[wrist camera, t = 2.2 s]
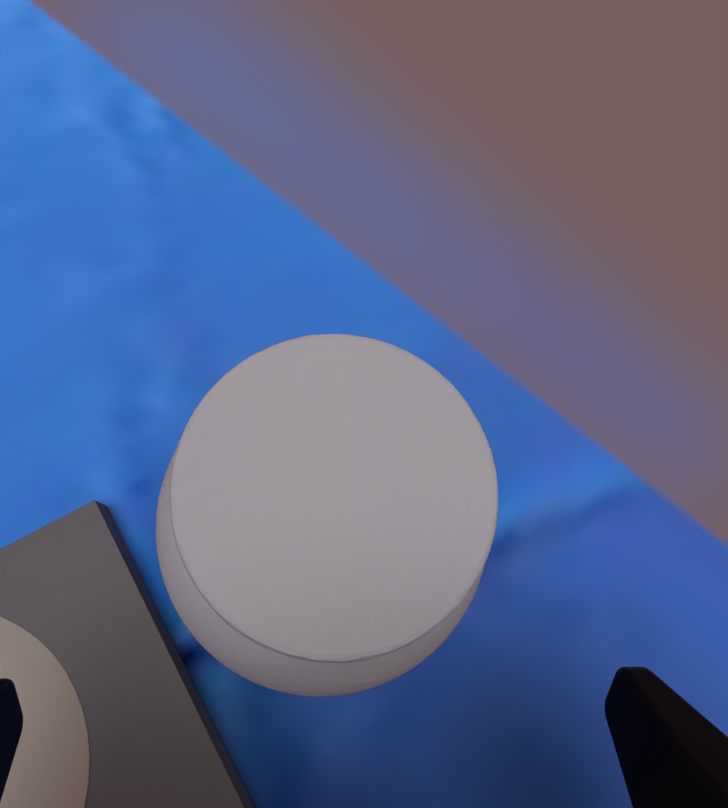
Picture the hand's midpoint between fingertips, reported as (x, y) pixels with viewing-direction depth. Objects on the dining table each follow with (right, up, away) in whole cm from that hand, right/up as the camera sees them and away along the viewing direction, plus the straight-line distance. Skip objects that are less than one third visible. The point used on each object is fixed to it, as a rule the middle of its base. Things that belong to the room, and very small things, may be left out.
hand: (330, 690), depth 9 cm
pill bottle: (-1, 0, +11) cm, 11 cm away
